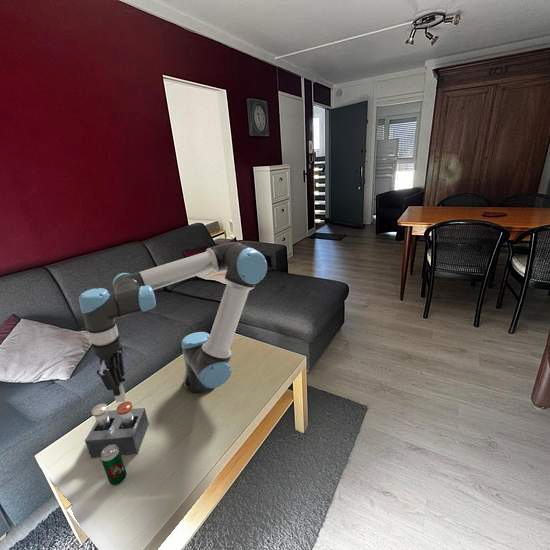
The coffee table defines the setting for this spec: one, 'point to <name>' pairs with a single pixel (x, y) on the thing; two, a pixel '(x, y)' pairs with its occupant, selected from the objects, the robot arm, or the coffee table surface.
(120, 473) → the soda can
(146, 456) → the coffee table surface
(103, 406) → the white light bulb
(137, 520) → the coffee table surface
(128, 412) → the orange light bulb
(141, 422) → the housing
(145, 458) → the coffee table surface
